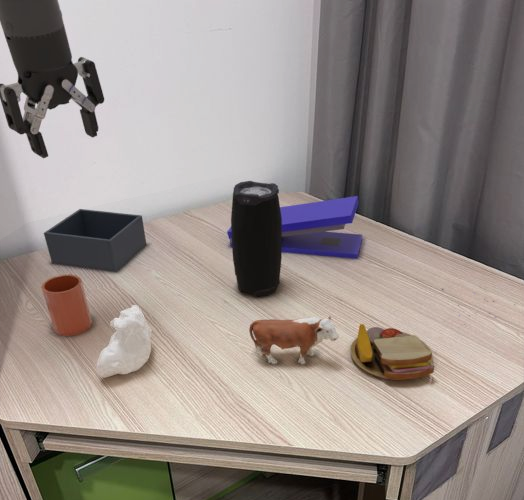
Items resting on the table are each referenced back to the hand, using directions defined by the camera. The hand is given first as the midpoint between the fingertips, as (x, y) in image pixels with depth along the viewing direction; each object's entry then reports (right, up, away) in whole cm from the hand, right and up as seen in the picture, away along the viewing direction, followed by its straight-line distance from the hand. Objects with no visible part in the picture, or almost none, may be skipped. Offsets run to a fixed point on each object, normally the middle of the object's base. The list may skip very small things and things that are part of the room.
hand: (67, 145), depth 81 cm
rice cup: (-4, -27, +12) cm, 30 cm away
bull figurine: (+34, -32, +4) cm, 47 cm away
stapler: (+36, -7, +38) cm, 53 cm away
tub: (-6, -10, +35) cm, 37 cm away
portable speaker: (+28, -19, +22) cm, 41 cm away
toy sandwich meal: (+50, -32, +3) cm, 59 cm away
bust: (+9, -33, +4) cm, 34 cm away
